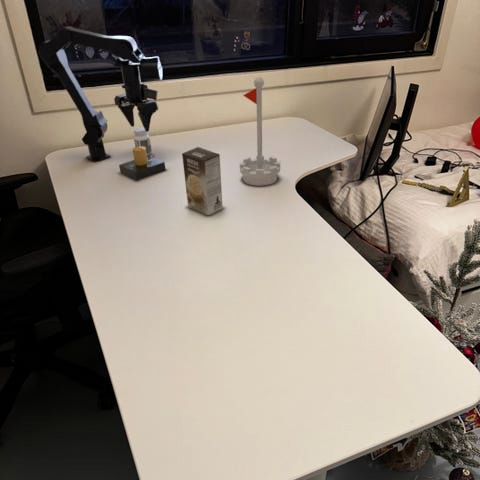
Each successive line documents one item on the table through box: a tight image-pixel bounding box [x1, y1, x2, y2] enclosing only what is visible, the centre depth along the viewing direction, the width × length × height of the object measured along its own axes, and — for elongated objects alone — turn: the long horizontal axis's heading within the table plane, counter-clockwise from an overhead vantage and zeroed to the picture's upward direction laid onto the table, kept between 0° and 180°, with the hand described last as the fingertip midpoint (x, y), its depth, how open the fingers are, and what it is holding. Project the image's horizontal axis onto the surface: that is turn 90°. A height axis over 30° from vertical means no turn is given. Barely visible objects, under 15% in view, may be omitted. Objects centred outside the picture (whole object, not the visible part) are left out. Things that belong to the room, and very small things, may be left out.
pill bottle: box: [133, 126, 153, 157], centre depth 168 cm, size 6×6×10 cm
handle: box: [132, 146, 148, 166], centre depth 156 cm, size 4×4×5 cm
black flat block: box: [118, 156, 166, 181], centre depth 159 cm, size 10×12×3 cm
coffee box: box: [181, 146, 224, 216], centre depth 130 cm, size 9×6×16 cm
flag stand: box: [239, 76, 281, 187], centre depth 141 cm, size 13×13×30 cm
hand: (139, 128), depth 165 cm, fingers open, 9 cm apart
